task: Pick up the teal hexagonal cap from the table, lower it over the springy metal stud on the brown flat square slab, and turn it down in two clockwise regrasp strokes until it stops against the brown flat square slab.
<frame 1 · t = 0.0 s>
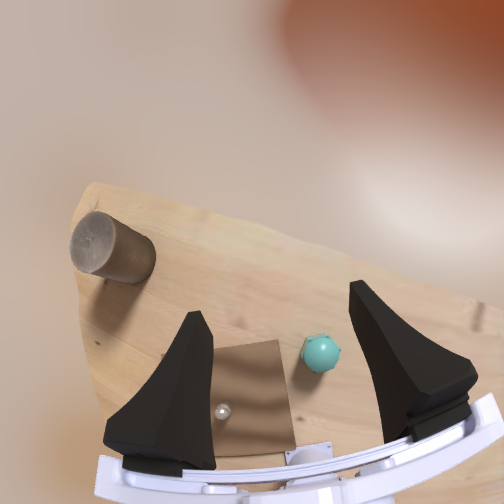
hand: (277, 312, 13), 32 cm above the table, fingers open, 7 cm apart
brown flat square slab: (228, 404, 42), on the table
stud: (223, 410, 38), point 4 cm above the table, slide at 0.0 cm
cap: (317, 350, 42), on the table
pillar candle: (134, 259, 50), on the table
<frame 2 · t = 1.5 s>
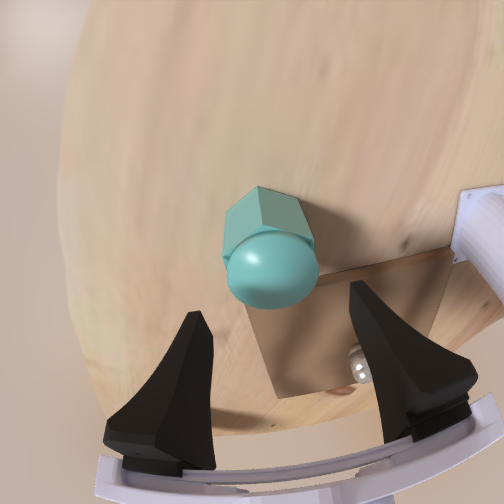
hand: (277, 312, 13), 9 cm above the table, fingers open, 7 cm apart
brown flat square slab: (353, 336, 28), on the table
stud: (362, 363, 25), point 4 cm above the table, slide at 0.0 cm
cap: (265, 222, 20), on the table
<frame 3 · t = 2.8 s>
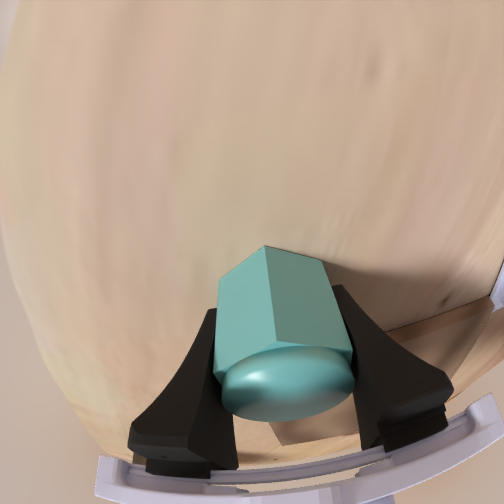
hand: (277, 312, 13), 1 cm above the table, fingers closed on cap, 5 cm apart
brown flat square slab: (370, 391, 23), on the table
cap: (274, 291, 14), on the table, touching gripper
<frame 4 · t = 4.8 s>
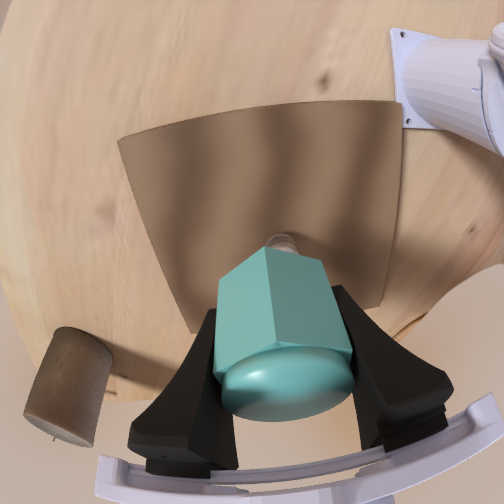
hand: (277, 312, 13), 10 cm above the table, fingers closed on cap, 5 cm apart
brown flat square slab: (277, 231, 23), on the table
stud: (283, 258, 20), point 4 cm above the table, slide at 0.0 cm
cap: (274, 291, 14), point 9 cm above the table, touching gripper
pillar candle: (84, 347, 32), on the table
when the fingers open (3 cm above the table, at t = 7.2 s): cap stays where it is, resting on brown flat square slab.
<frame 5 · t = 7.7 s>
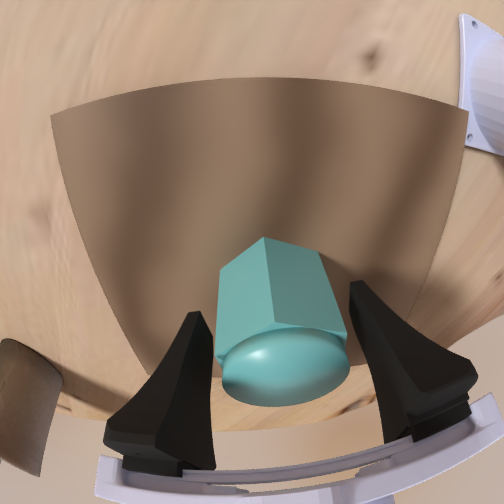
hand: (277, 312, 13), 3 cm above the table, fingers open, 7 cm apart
brown flat square slab: (271, 267, 16), on the table
cap: (273, 281, 15), point 1 cm above the table, touching brown flat square slab
pillar candle: (32, 362, 24), on the table
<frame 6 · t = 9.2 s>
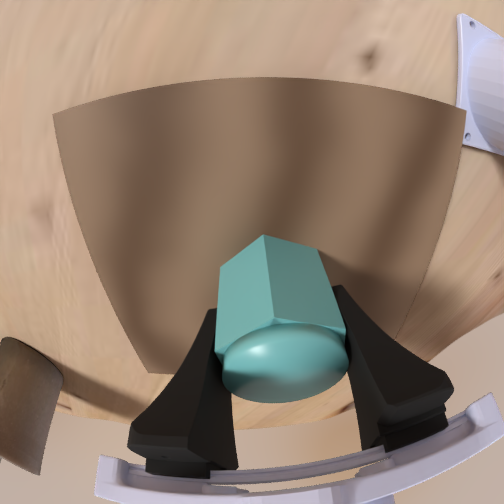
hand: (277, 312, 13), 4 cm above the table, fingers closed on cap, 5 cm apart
brown flat square slab: (270, 265, 16), on the table
cap: (272, 279, 15), point 1 cm above the table, touching gripper, brown flat square slab
pillar candle: (32, 361, 24), on the table
when the fingers open (2 cm above the table, at t = 10.5 s): cap stays where it is, resting on brown flat square slab.
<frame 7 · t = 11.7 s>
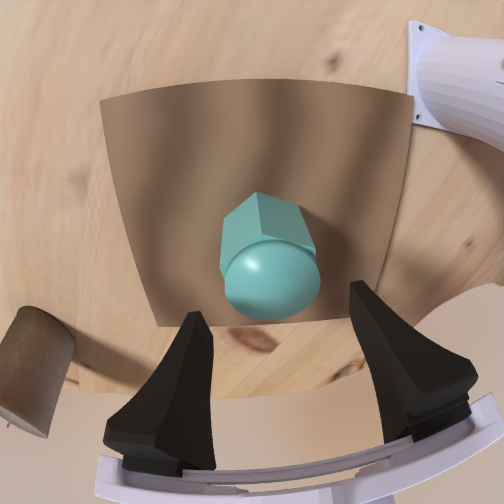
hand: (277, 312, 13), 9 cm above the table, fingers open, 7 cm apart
brown flat square slab: (263, 220, 20), on the table
cap: (264, 229, 19), point 1 cm above the table, touching brown flat square slab
pillar candle: (47, 330, 28), on the table
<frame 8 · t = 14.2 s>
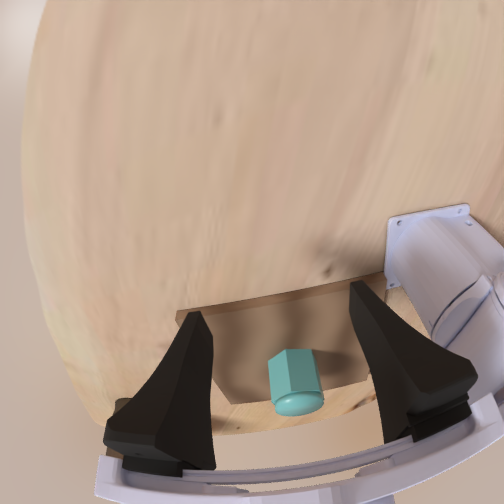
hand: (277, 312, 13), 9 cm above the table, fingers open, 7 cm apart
brown flat square slab: (291, 352, 31), on the table
cap: (292, 361, 30), point 1 cm above the table, touching brown flat square slab
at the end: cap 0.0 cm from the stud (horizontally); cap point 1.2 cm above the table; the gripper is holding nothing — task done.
